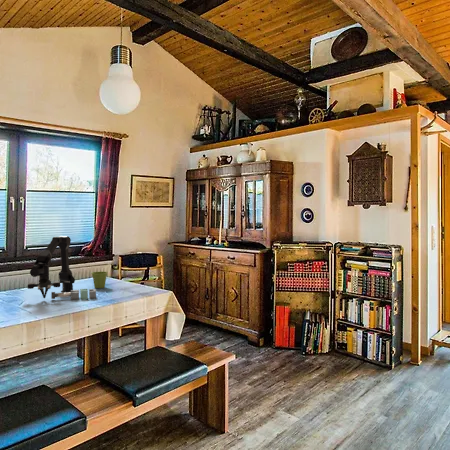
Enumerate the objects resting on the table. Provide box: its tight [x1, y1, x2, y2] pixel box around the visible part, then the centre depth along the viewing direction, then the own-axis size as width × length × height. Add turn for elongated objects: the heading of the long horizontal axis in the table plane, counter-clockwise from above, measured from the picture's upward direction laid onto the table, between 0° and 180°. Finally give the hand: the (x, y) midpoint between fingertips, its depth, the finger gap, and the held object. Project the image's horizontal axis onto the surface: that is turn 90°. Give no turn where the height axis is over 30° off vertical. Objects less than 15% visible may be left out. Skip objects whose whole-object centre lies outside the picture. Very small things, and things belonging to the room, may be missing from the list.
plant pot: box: [91, 271, 108, 289], centre depth 289 cm, size 12×12×11 cm
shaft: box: [50, 291, 71, 300], centre depth 252 cm, size 16×4×4 cm, turn 111°
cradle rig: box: [70, 288, 97, 301], centre depth 256 cm, size 16×8×5 cm, turn 111°
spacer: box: [79, 288, 89, 300], centre depth 256 cm, size 4×6×6 cm
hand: (44, 298), depth 248 cm, fingers closed
